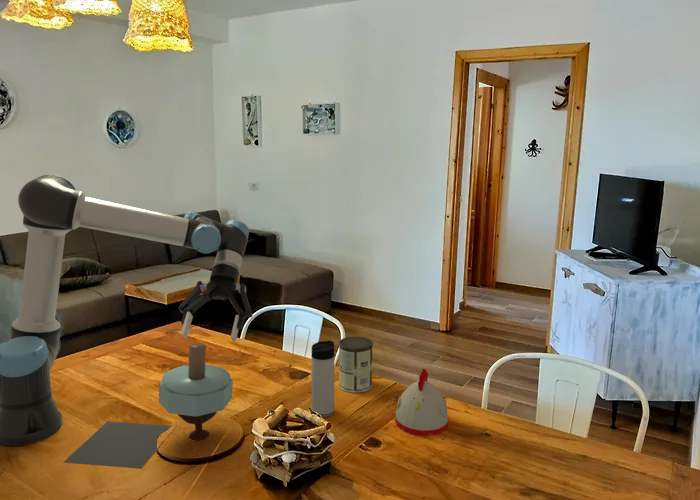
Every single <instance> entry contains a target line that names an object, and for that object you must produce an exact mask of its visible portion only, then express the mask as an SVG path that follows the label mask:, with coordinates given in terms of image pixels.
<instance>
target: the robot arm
mask: <svg viewBox="0 0 700 500" xmlns="http://www.w3.org/2000/svg"><path fill="white" fill-rule="evenodd" d="M17 201H18V207H19V209H20V211H21V213H22V214H23V218H22V225H23V226H24V227H25V228H26V229H27V231H28V234H27V235H28V236H27V242H26V243H27V244H26V253H25V261H24V271H23V277H22V278H23V280H22V287H21V288H22V289H21V297H20V306H19V307H20V308H19V315H18V318H16V319H15V320H14V321H12V323H11V327H10V338H9V339H8V340H7V341H4V342H1V343H0V445H2V446H7V447H17V446H26V445H28V444H33V443H36V442H39V441H42V440H44V439H46V438H49V437H51V436H53V435H54V434H56V433H57V432H58V431H59V430H60V429H61V428H62V426H63V417H62V413H61V412H60V411H59V409H58V406H57V404H56V402H55V400H54V398H53V395H52V393H53V392H52V383H51V382H52V381H51V369H52V367H53V365H54V362H55V361H56V359H57V357H58V354H60V351H61V350H60V349H61V338H60V331H61V322H59V321H58V320H57V319H56V316H57V306H58V298H59V289H60V281H61V274H62V273H61V272H62V265H63V257H64V256H63V255H64V248H65V239H66V234H68V233H69V232H71V231H72V230H73V231H74V230H76V229H78V228H86V229H90V230H97V231H100V232H101V231H102V232H107V233H110V234H111V233H112V234H116V235H122V236H128V237H132V238H137V239H138V238H139V239H143V240H148V241H153V242H158V243H164V244H168V245H169V244H170V245H174V246H178V247H179V246H180V247H184V248H188V249H193V250H196V252H197V251H198V253H201V254H211V253H213V252H215V251H216V250H217V252H216V256H215V260H214V263H213V267H212V270H211V273H210V275H209V277H210V278H209V280H208V282H207V283H205V282H202V280H198V281H197V282H196V285H195V287H194V288H193V289H192V290H191V291H190V293H189V294H188V295H187V296H186V297H185V299H184V300H183V301H182V302H181V303H180V304H179V306H178V310H179V312H180V313H181V314H182V318H181V321H180V322H181V325H182V328H181V332H180V335H181V336H182V337H183V338H184V339H187V338H188V334H189V331H190V327H191V325H192V324H191V323H192V321H193V318H194V316H193V314H194V313H195V312H197V310H198V309H200V308H201V307H203V306H204V305H205V304H206V303H207V302H211V301H212V300H216V301H218V300H222V301H226V300H229V301H230V303H231V304H232V306H233V308H234V309H235V311H236V312H237V314H235V318H234V322H233V326H232V330H231V334H230V338H231V340H232V342H237V337H238V334H239V330H242V329H243V328H244V327H243V326H244V323H245V320H246V318H247V319H248V318H252V317H253V312H252V309H251V306H250V302H249V300H248V296H247V290H248V289H247V286H246V285H245V283H244V282H242V283H240V285H238V280H239V276H240V272H241V268H242V264H243V258H244V255H245V251H246V247H247V244H248V240H249V234H250V229H249V227H248V225H247V224H246V223H244V222H242V221H240V220H233V219H231V220H227V222H226V223H221V222H218V221H216V220H214V219H211V218H208V217H206V216H204V215H202V214H200V213H197V212H193V211H187V212H186V213H184V217H182V216H177V215H173V214H167V213H164V212H157V211H153V210H148V209H144V208H140V207H134V206H130V205H127V204H126V205H125V204H121V203H116V202H113V201H107V200H104V199H103V200H102V199H98V198H94V197H88V196H86V195H85V194H84V192H83V191H79V190H77V189H76V187H75V185H74V184H73V183H72V181H70V180H68V179H67V178H65V177H63V176H60V175H56V174H44V175H41V176H38V177H36V178H34V179H32V180H30V181H28V182H27V183H25V184H24V186H22V188H21V189H20V191H19V194H18V199H17ZM202 292H203V294H202ZM236 292H238V293H239V294H240V295H241V296H240V297H241V300H242V304H243V307H244V309H245V310H244V311H243V309H242V307H241V306H240V305H239V303H238V301H237V299H235V297H234V293H236ZM201 294H202V295H201Z"/></svg>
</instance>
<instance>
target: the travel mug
mask: <svg viewBox="0 0 700 500" xmlns="http://www.w3.org/2000/svg"><path fill="white" fill-rule="evenodd" d="M310 362H311V365H310V366H311V382H310V383H311V387H310V388H311V396H310V397H311V400H310V401H311V409H312V410H313V411H315V412H317V413H319V414H320V415H321V416H322V417H323V418H329V417H331V416H333V415H334V413H335V342H334V341H332V340H324V341H323V340H321V341H318V342H315V343H313V344H312V345H311V361H310ZM311 409H310V410H311ZM322 417H321V418H322Z"/></svg>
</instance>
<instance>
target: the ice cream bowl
mask: <svg viewBox="0 0 700 500" xmlns="http://www.w3.org/2000/svg"><path fill="white" fill-rule="evenodd" d="M217 413H218V411H217V412H213V413H209V414H205V415H201V416H197V417H196V416H188V415H180V414H177V416H178V417H179V418H181V419H182V420H183V421H184V422H185V423H187V424H191V425H194V429H195V430H193V431H192V432H190V433H189V434H190V435H189V434H188V437H189V438H190V439H191V440H190V439H189V438H188V439H189V440H190V441H192V440H195V441H194V442H199V441H200V440H201V441H204V439H205V438H206V439H208V438H209V437H210V435H209V433H210V432H209V431H208V430H207V429H203V424H204V423H206V422H208V421H209V420H211V419H213V418H214V416H215V415H217ZM208 436H209V437H208ZM207 437H208V438H207ZM206 439H205V440H206ZM201 441H200V442H201Z"/></svg>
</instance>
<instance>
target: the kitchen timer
mask: <svg viewBox="0 0 700 500" xmlns="http://www.w3.org/2000/svg"><path fill="white" fill-rule="evenodd" d="M428 378H429V372H428V371H427V369H425V368H422V369H421V372H420V374H419V377H418V381H415V382H413V383H411V384H410V385H409V386H408V387H407V388H406V389H405V390H404V391H402V393H401V394H400V396H399V397H398V400H397V404H396V410H395V411H396V412H395V425H396V426H397V427H398V428H399V429H400V430H401V431H403V432H404V433H407V434H409V435H412V436H413V435H414V436H419V437H431V436H438V435H440V434H442V433H444V432H446V430H447V429H448V424H449V423H448V422H449V420H448V419H449V415H448V404H447V399H446V398H443V395H442V394H441V392H440V391H439V390H438V388H437V387H436V386H435V385H434V384H432V382H430V381H428Z"/></svg>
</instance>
